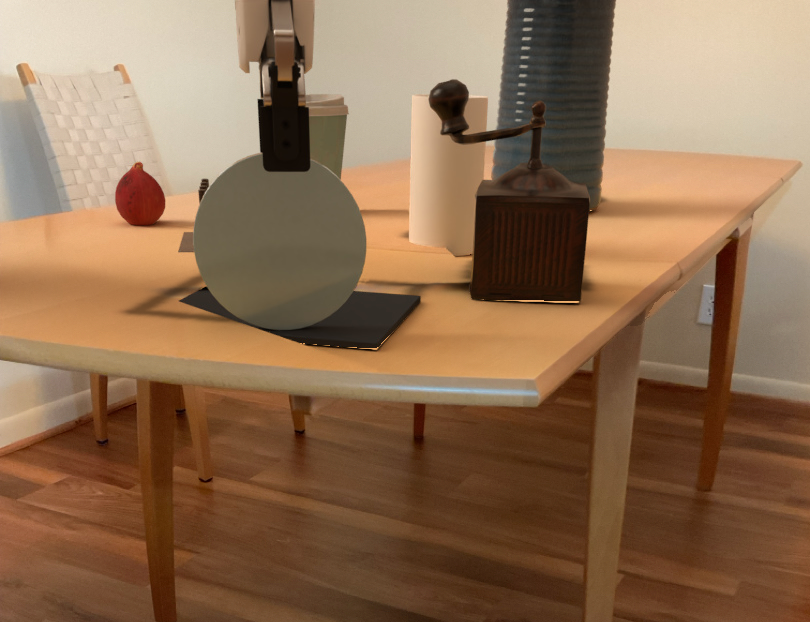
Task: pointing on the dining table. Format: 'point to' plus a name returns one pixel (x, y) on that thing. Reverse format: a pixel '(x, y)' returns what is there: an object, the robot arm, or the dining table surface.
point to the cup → (444, 177)
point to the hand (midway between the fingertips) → (283, 163)
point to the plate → (279, 243)
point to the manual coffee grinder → (520, 215)
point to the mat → (335, 319)
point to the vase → (557, 86)
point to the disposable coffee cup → (327, 129)
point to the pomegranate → (139, 197)
